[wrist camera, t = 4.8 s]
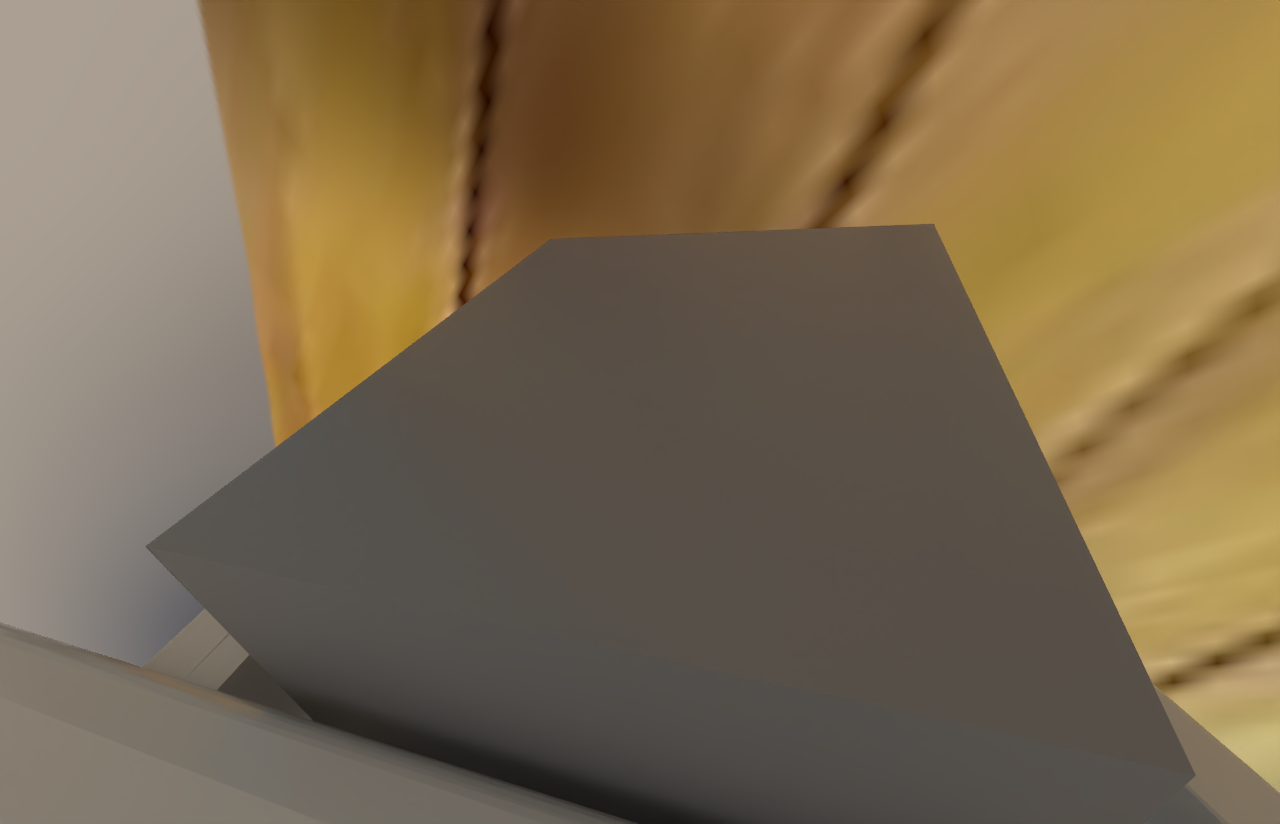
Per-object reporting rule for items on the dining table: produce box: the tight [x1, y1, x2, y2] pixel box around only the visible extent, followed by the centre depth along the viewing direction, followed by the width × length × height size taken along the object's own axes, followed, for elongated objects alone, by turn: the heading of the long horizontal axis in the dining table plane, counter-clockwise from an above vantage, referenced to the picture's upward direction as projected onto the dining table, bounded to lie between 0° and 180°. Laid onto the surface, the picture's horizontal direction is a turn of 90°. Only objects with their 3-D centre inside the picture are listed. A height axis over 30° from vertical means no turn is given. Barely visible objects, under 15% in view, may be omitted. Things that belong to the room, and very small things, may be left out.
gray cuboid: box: [146, 224, 1196, 824], centre depth 9 cm, size 8×8×9 cm
